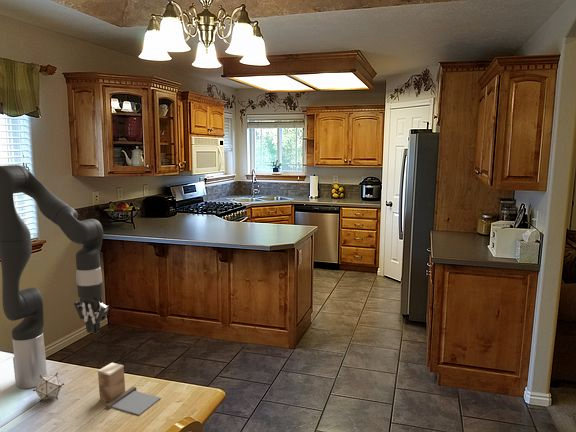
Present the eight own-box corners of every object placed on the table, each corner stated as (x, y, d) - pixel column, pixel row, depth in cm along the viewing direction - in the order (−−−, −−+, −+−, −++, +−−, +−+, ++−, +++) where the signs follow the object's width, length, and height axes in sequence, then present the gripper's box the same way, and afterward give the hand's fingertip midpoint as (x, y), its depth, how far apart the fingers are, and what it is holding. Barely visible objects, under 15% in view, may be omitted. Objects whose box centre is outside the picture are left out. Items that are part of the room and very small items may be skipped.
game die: (52, 411, 144) (47, 398, 138) (30, 400, 146) (23, 387, 139) (72, 387, 151) (67, 373, 144) (50, 376, 152) (45, 362, 145)
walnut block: (100, 399, 145) (97, 370, 143) (113, 390, 150) (112, 362, 149) (111, 402, 143) (109, 373, 141) (125, 393, 148) (123, 365, 147)
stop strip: (105, 408, 140) (105, 405, 140) (133, 389, 151) (132, 386, 151) (109, 409, 139) (109, 406, 139) (136, 390, 150) (136, 387, 150)
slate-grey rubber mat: (111, 407, 140) (111, 406, 140) (134, 391, 149) (134, 390, 149) (139, 415, 136) (139, 414, 136) (160, 398, 145) (160, 397, 145)
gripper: (64, 282, 143) (68, 333, 145) (96, 287, 137) (100, 340, 140) (83, 276, 149) (87, 325, 152) (114, 280, 144) (118, 331, 147)
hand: (93, 332), depth 146 cm, fingers closed
